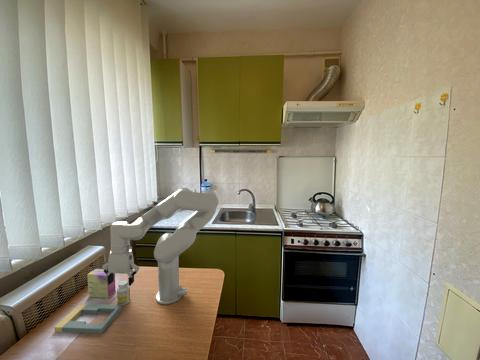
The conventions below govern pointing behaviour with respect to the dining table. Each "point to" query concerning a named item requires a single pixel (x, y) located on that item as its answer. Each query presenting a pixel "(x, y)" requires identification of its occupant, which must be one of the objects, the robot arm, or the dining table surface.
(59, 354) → the dining table surface
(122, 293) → the supplement bottle
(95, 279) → the box
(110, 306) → the keyhole board
